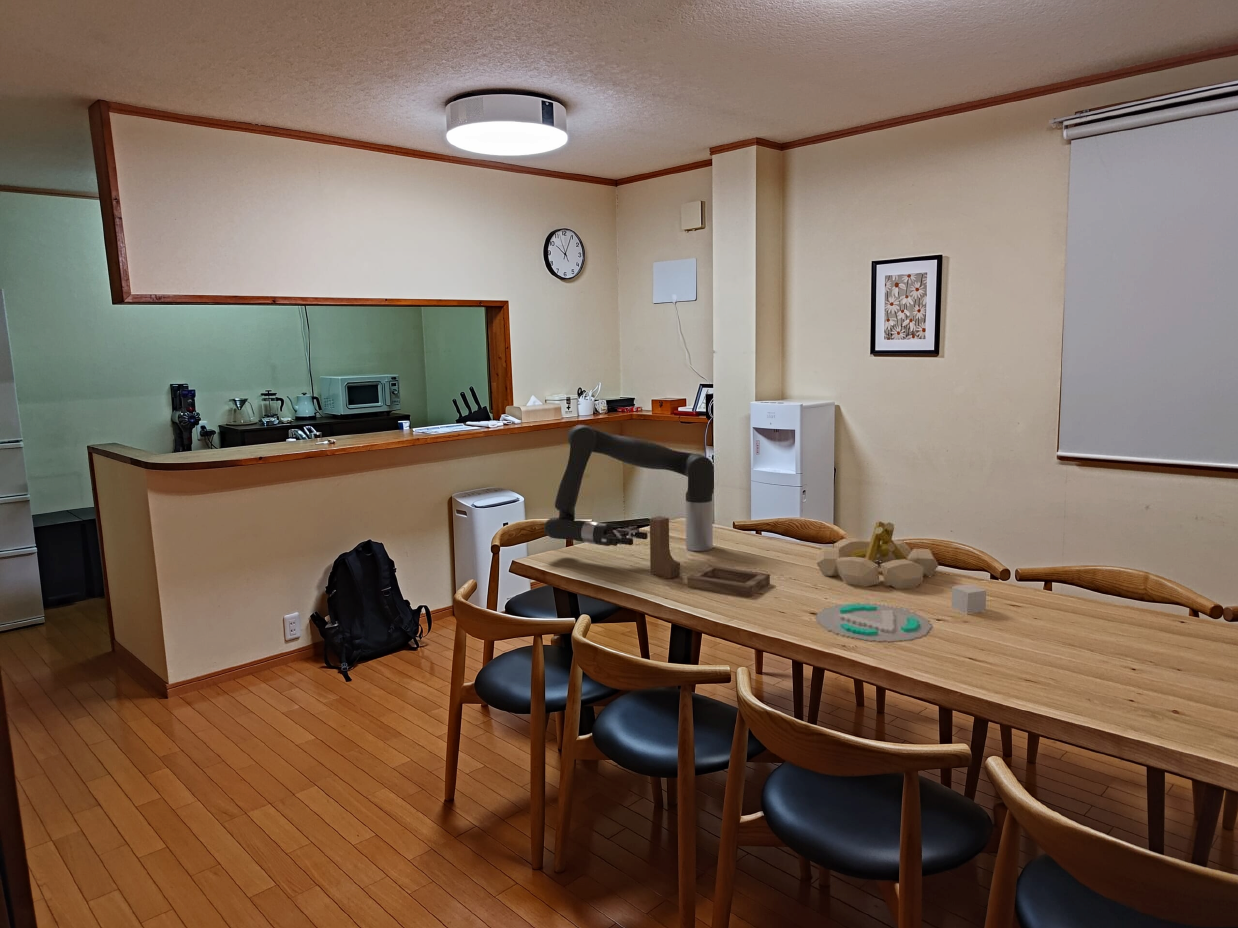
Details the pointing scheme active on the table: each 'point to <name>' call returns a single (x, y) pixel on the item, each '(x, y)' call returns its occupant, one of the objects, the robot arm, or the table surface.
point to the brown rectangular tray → (706, 581)
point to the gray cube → (968, 598)
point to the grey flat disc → (873, 622)
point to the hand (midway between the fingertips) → (639, 538)
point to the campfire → (859, 556)
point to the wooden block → (661, 549)
